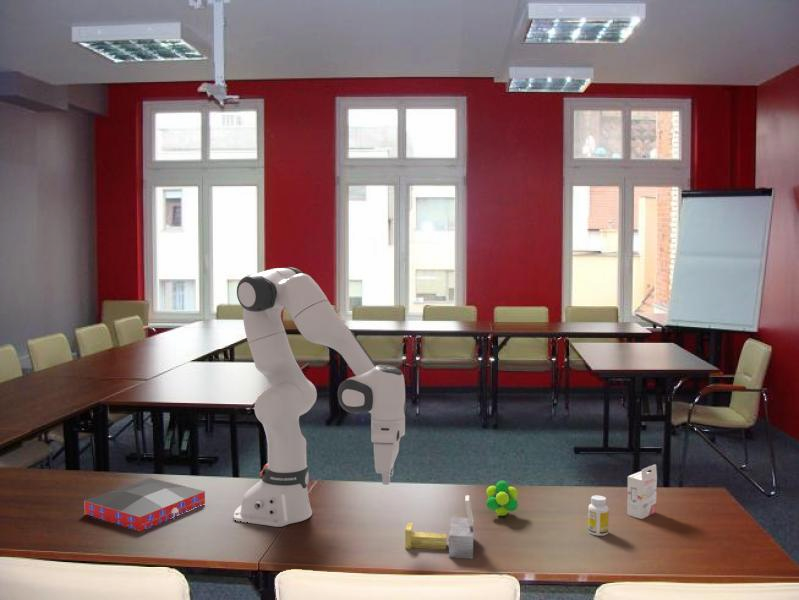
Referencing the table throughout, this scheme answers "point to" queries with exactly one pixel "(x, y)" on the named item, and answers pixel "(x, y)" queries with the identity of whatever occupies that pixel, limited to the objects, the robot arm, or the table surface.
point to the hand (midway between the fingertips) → (387, 479)
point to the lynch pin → (424, 539)
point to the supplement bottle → (598, 516)
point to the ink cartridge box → (642, 493)
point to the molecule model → (502, 498)
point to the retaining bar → (469, 511)
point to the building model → (144, 503)
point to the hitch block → (460, 538)
